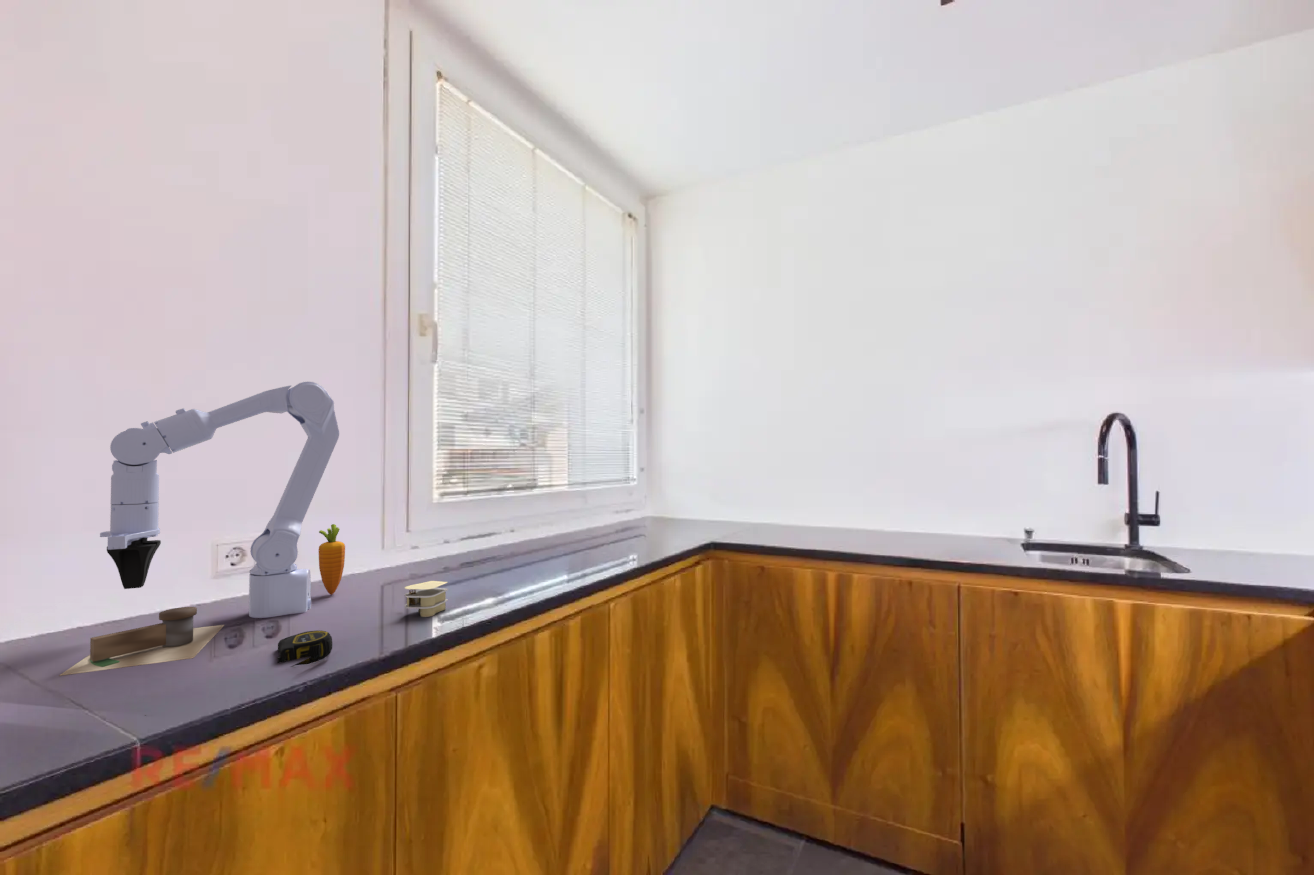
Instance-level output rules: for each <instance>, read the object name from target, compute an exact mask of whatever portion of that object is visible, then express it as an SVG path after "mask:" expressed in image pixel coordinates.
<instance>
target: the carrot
mask: <svg viewBox="0 0 1314 875" xmlns="http://www.w3.org/2000/svg"><path fill="white" fill-rule="evenodd" d="M326 530H327V532H326V531H324V530H322V529H320V530H319V531H318V533H319V534H321V535H322V536H324V537H325V539H326V540H327V541H326V542H322V543H321V544H320V545H319V546H318V567H319V568H318V569H319V574H320V578H321V581H322V584H323V586H324V588H325V590H326V592H327V593H328V594H329V595H330V596H332V595H334V593H335V592H336V590H337V589H338V587H339V585H340V583H341V580H342V576H343V573H344V569H345V561H346V560H345V558H346V545H345V543H344V542H342V541H339V540H337V536H338V534H339V532H340V527H337V525H336V524H335V523H333V524H332V523H331V525H330V527H328V528H327V529H326Z"/></svg>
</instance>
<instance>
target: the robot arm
mask: <svg viewBox="0 0 1314 875" xmlns="http://www.w3.org/2000/svg"><path fill="white" fill-rule="evenodd" d="M264 413H273V414H285V413H288V414H289V415H290V416H291V417H292V418H293V419H295V420H296V421H297V422H299V424H300V426H301V427H302V429H303V431H304V433H305V434H306V436H307V440H306V441H305V443H304V446H303V448H302V451H301V453H300V454H299V456H298V459H297V461H296V462H295V463H296V464H295V466H294V468H293V469H292V470H293V471H292V472H291V474H290V477H289V480H288V482H287V484H286V486H285V488H284V491H283V493H282V496H281V497H280V499H279V502H278V504H277V507H276V509H275V511H274V513H273V515H272V517H271V518H270V519H269V521H268V523H267V524H266V527H265V528H264V530H263V531H262V533H261V534H260V535H258V536H257V537H256V538H255V539H254V540H253V541H252V543H251V546H250V556H251V558H252V559H253V561H255V564H254V566H253V567H252V568H251V569H250V570H249V571H248V572H249V576H248V577H249V578H248V579H249V580H248V581H249V584H248V586H249V587H248V616H249V617H250V618H255V619H258V618H259V619H262V618H264V619H265V618H274V617H279V616H286V615H293V614H295V615H296V614H302V613H307V611H308V610H311V607H312V598H311V591H312V590H311V589H312V588H311V582H312V580H311V578H312V577H311V569H310V568H298V564H295V562H296V561H297V558H298V555H299V554H298V553H299V551H298V542H299V538H300V537H301V532H302V525H303V522H304V519H305V517H306V515H307V513H308V510H309V508H310V505H311V502H312V501H313V498H314V496H315V494H316V491H317V489H318V487H319V485H320V482H321V480H322V477H323V475H324V473H325V470H326V468H327V465H328V463H329V461H330V459H331V456H332V453H333V452H334V449H335V448H336V445H337V442H338V440H339V437H340V429H339V426H338V421H337V420H338V419H337V417H336V412H335V402H334V399H332V396H331V395H330V394H329V393H328V390H327V389H325V387H323V386H322V385H321V384H319V383H317V382H314V381H303V382H299V383H297V384H296V385H294V386H292V385H286V386H281V387H277V388H271V389H268V390H264V391H262V392H259V393H256V394H254V395H251V396H249V397H246V398H243V399H240V400H237V401H235V402H232V403H229V404H227V405H224V406H221V407H219V408H216V409H214V410H211V411H207V412H206V411H203V410H200V409H196V408H191V409H189V410H186V409H185V408H184V407H183V408H179V409H177V410H175V414H173V415H170V416H168V417H167V416H166V417H165V418H162V419H159V420H156V421H152V422H150V423H149V421H142V422H140V425H141V427H142V428H141V427H140V428H139V427H129V428H127V429H126V430H124V431H121V432H120V433H118V434H116V435H115V436H114V438H112V440H111V442H110V446H109V447H110V448H109V449H110V453H111V455H112V456H113V458H115V459H114V460H113V463H112V464H111V471H112V475H111V476H110V514H109V516H110V517H109V518H110V520H109V521H110V523H109V527H110V528H109V530H108V531H102V532H100V533H99V537H100V538H107V546H106V552H107V554H108V555H109V556H110V557H111V559H112V560H113V562H114V564H115V566H116V568H117V571H118V575H119V577H120V578H119V579H120V580H121V585H122V587H123V589H124V590H129V589H139V588H143V587H144V586H145V583H146V581H147V577H148V573H149V570H150V569H149V568H150V566H151V563H152V560H153V558H154V556H155V554H156V552H157V551H158V549H159V548H160V546H161V543H162V541H161V540H160V539H157V540H156V539H154V540H148V539H149V538H152V537H153V538H155V537H158V536H159V535H160V533H161V529H160V528H159V521H160V520H159V519H160V518H159V514H160V513H159V510H160V508H159V507H160V501H159V500H160V474H159V473H158V460H157V458H158V457H159V455H160V454H163V453H164V454H168V455H171V454H174V453H176V452H179V451H182V450H185V449H187V448H191V447H193V446H195V445H198V444H201V443H204V442H206V441H209V440H212V439H213V438H214V435H215V433H216V431H217V429H220V428H222V427H224V426H227V425H231V424H233V423H236V422H240V421H242V420H246V419H248V418H251V417H254V416H257V415H259V414H264Z"/></svg>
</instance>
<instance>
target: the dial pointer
mask: <svg viewBox="0 0 1314 875" xmlns="http://www.w3.org/2000/svg"><path fill="white" fill-rule="evenodd" d="M197 614H198V607H196V606H184V607H183V606H182V607H175V608H169V609H166V610H162V611H160V612H159V613H158V620H159V621H162V622H161V623H156V624H150V625H146V626H141V627H137V628H131V629H127V630H126V629H125V630H123V631H122V630H121V631H118V632H112V633H108V634H103V635H98V636H93V637H90V643H89V644H90V645H89V646H90V647H89V648H90V649H89V655H90V660H92V661H93V662H94V661H98V660H102V659H106V658H111V657H115V656H119V655H123V654H128V653H132V652H136V651H140V650H145V649H149V648H153V647H157V646H165V647H170V646H178V645H183V644H186V643H189V642H191V641H193V628H194V616H196V615H197Z"/></svg>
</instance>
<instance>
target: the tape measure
mask: <svg viewBox="0 0 1314 875" xmlns="http://www.w3.org/2000/svg"><path fill="white" fill-rule="evenodd" d="M332 650H333V637H332V636H331V634H330V632H328V631H326V630H309V631H308V630H307V631H303V632H300V633H297V634H294V635H290V636H287V637H285V638H282V639H280V640H279V641H278V643H277V651H278V654H279V655H278V657H276V658H277V659H276V660H277V664H281V663H285V662H288V661H294V660H298V659H303V658H306V659H304V660H301V661H299V662H297V663H296V664H293V665H292V666H290V668H292V667H294V666H302V665H309V664H313V663H316V662H319V661H322V660H324V659H325V658H327V657H329V655H330V654H331V653H332Z"/></svg>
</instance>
